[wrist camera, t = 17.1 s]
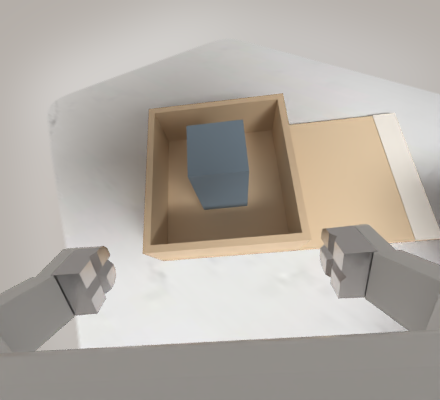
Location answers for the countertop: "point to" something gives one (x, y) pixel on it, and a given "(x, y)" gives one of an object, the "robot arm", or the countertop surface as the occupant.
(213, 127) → the blue rectangular block
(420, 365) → the robot arm
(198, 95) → the countertop surface
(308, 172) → the mailer box
